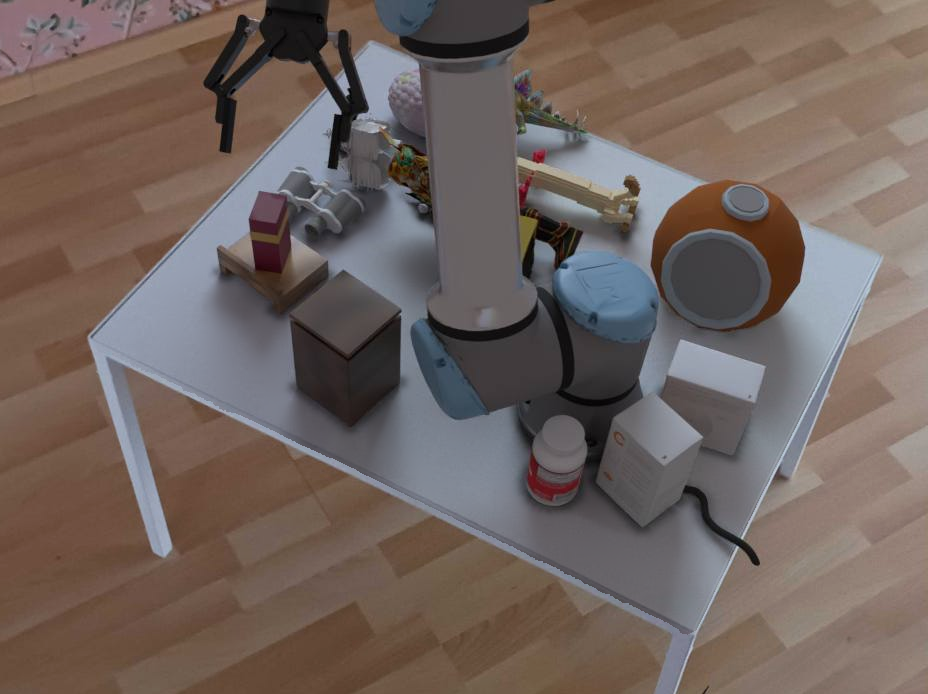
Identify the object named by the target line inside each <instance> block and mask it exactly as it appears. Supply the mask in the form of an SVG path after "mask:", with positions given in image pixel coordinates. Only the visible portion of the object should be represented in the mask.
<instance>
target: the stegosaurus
mask: <svg viewBox="0 0 928 694" xmlns="http://www.w3.org/2000/svg"><path fill="white" fill-rule="evenodd" d="M532 72H533V71H532V68H528V69H525V70H524V71H521V72H519V73H518V74H517V75H514V88H515V112H516V127H517V130H516V135H518V136H520V135H521V136H522V135H526V134H527V133H528V131H527V125H526V124H529V125H534V126H538V127H542V128H543V127H545V128H549V129H556V130H559V131H563V132H566V133H573V134H578V135H577V136H578V137H579V138H580V139H582V136H581V135H585V134H589V133H590V131H588V130H586V129H584V128H583V127H584V125H585V124H586V121H587V115H585V116H584V117H583V118H584V119H583V120H582V122H581V123H580V124H579V120H580V119H579V117H580V113H579V110H578V109H576V116H575V119H574V121H573V122H572V123H571V122H569V120H566V115H563V116H562V117H561V112H560V110H557V111H556V112H555V113H553V102H552V101H550V102H547V103H546V104H544V90H539V91H538V90H537V91H535V92H533V93H532V88H533V87H532V75H533V74H532ZM543 104H544V105H543ZM578 124H579V125H578Z"/></svg>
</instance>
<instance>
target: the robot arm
mask: <svg viewBox="0 0 928 694" xmlns="http://www.w3.org/2000/svg"><path fill="white" fill-rule="evenodd" d="M555 1H556V0H373V3H374V8H375V11H376V15H377V16H378V19H379V21H380V23H381V25H382V26H383V27H384V29H385V30H386V31H387V32H388V33H390V34H391V35H395V36H398V38H399V46H400V48H401V49H402V51H403V52H405V53H406V54H407V55H408V56H409V57H411V58H412V59H413V60H415V62H417V63H418V69H419V72H420V83H421V94H422V104H423V115H424V126H425V136H426V137H425V146H426V157H427V158H428V169H429V179H430V190H431V201H432V206H431V208H432V211H433V218H432V219H433V220H432V223H433V231H434V233H433V234H434V243H435V244H434V245H435V252H436V253H435V254H436V262H437V263H436V265H437V275H438V281H437V282H436V283H435V284H434V285H433V286H432V287H431V288H430V289H429V291H428V293H427V295H426V298H425V299H426V303H425V304H426V312H427V313H426V314H427V317H419V318H418V320H416V321H414V322H413V323H412V324H411V326H410V332H409V334H410V341H411V346H412V348H413V352H414V355H415V358H416V361H417V363H418V368H419V369H420V371H421V374H422V376H423V379H424V381H425V383H426V385H427V387H428V389H429V391H430V393H431V395H432V397H433V399H434V401H435V402H436V404H437V405H438V407H439V408H440V410H441V411H442V412H443V413H444V414H445V415H446V416H447V417H449V418H451V419H452V420H455V421H456V420H457V421H464V420H468V419H473V418H477V417H480V416H487V417H488V416H490V414H491V413H493V412H496V411H499V410H503V409H506V408H509V407H513V406H515V405H516V406H517V414H518V418H519V420H520V421H519V422H520V423H521V425H522V427H523V429H524V431H525V432H526V433H527V435H528V436H529V438H530V439H532V441H534V439H535V437H536V435H537V434H538V433H539V432H540V431H541V430H542V429H543V426H544V424H545V422H546V421H547V420H548V419H550V418H551V417H553V416H557V415H567V416H571V417H573V418H575V419H576V420H578V421H579V422H580V423H581V425H582V426H583V428H584V432H585V437H584V439H585V441H586V444H587V456H586V460H585V462H592V461H599V460H602V456H603V453H604V449H605V445H606V442H607V438H608V435H609V431H610V427H611V424H612V420H613V417H615V416H616V415H618V414H619V413H621V412H622V411H624V410H625V409H627V408H628V407H630V406H631V405H633V404H634V403H636V402H637V401H639V400H640V399H642V398H643V397H644V394H643V393H644V392H643V390H642V387H641V382H640V381H641V380H640V375H641V372H642V369H643V366H644V362H645V359H646V356H647V353H648V349H649V347H650V344H651V341H652V338H653V335H654V333H655V331H656V328H657V324H658V322H657V321H658V319H657V318H658V313H659V306H660V302H659V301H660V300H659V295H658V291H657V290H658V289H657V288H656V285H655V284H654V282H653V281H652V279H651V278H650V276H649V275H648V274H647V273H646V272H645V270H643V269H642V268H641V267H640V266H638V265H637V264H636V263H635V262H633V261H631V260H630V259H625V258H622V257H620V256H619V255H618V254H615V253H612V252H608V251H601V250H589V251H587V250H586V251H582V252H578V253H574V255H572V256H570V257H569V258H567V259H566V260H564V261H563V262H562V263H561V265H560V267H559V268H558V270H557V271H556V270H555V271H554V273H553V276H552V280H551V281H552V282H549V283H545V284H541V285H537V286H535V284H534V283H533V282H532V281H531V280H530V279H527V278H526V277H524V276H523V275H522V256H521V232H520V208H519V186H520V184H519V182H518V160H517V158H518V140H517V125H516V112H515V88H514V77H515V69H514V68H515V67H514V55H515V54H516V53H517V52H518V51H519V50H520V48H522V47H523V45H525V43H526V42H527V41H528V40H529V37H530V8H532V7H536V6H538V5H542V4H543V5H544V4H547V3H551V2H555ZM330 2H331V0H265V7H264V8H265V9H264V15H263V17H262V18H261V20H258V19H253V18H251V17H248V16H247V15H245V14H243V13H242V14H239V15H238V16H237V19H236V21H235V22H236V24H235V27H234V32H233V33H232V35H231V37H229V40H228V41H227V43H226V44H225V46H224V47H223V49H222V51H221V53H220V54H219V56H218V57H217V59H216V60H215V62H214V64H213V66H212V67H211V68H210V70H209V72H208V74H207V75H206V77H205V78H204V80H203V82H202V83H203V84H202V85H203V87H204V88H205V89H207V90H209V91H211V92H213V93H214V94H215V95H216V106H215V115H214V120H215V123H216V124H218V125H221V131H220V139H219V140H220V141H219V149H218V151H219V152H220V153H224V154H230V155H231V154H232V149H233V139H234V131H235V122H236V114H237V103H238V100H237V99H234V98H233V96H234V94H236V92H237V91H239V90H240V89H241V87H243V85H245V84H246V83H247V82H248V81H249V80H250V79H251V78H252V77H253V76H254V75H255V74H257V72H258V71H260V69H262V68H263V67H264V66H265V65H266V64H267V63H269V62H270V61H271V60H272V59H274V58H275V59H277V60H278V61H280V62H286V63H287V62H294V63H297V64H299V65H300V64H301V65H306V64H308V63H310V64H311V65H312V66H313V68H314V69H315V71H316V73H317V74H318V75H319V76H318V77H320V79H321V81H322V82H323V84H324V86H325V88H326V89H327V91H328V93H329V94H330V96H331V97H332V99H333V101H334V103H335V104H336V106H337V107H338V109H339V110H340V113H339V114H338V113H333V121H332V127H331V128H332V129H331V130H332V134H331V135H332V136H330V144H329V145H330V146H329V153H328V160H327V162H328V163H327V166H326V167H327V169H329V170H335V171H338V170H339V169H338V168H339V166H338V162H340V161H339V159H340V153H341V151H340V146H341V142H343V143H348V142H349V140H350V134H351V126H352V119H353V117H354V116H355V115H358V116H359V115H362V114H368V112H369V110H370V106H369V103H368V100H367V97H366V93H365V91H364V87H363V84H362V81H361V78H360V75H359V72H358V69H357V66H356V65H357V64H356V61H355V59H354V55H353V53H352V35H351V33H350V32H349V31H348V30H347V29H344V28H341V29H340V30H328V17H329V11H330ZM258 31H259V33H260V35H261V37H262V39H263V41H264V42H262V43H261V44H260V45H259V46H258V47H257V48H256V49H255V51H254V53H253V54H252V55H250V56H249V57H248V58H247V59H246V60H245V61H244V62H243V63H242V64H241V65H240V66H239V67H238V68H237V69H236V70H235V71H233V73H231V75H230V76H229V77H228V78H226V76H227V75H228V73H229V72H230V70H231V69H232V66H233V65H234V63H235V62H236V61H237V59H238V57H239V56H240V54H241V52H242V51H243V49H244V48H245V46H246V45H247V43H248V40H249V38H252V37H254V36H255V34H256V33H257V32H258ZM329 41H330V42H331V43H332V47H333V48H334V49H335V50H337V51H338V56H339V58H340V61H341V65H342V68H343V71H344V75H345V77H346V80H347V83H348V86H349V88H350V90H351V93H352V96H353V99H354V102H355V103H353V104H350V103H349V101H348V99H347V98H346V96H347V95H346V94H345V93H344V91H343V89H342V88H341V86H340V85H339V82H338V81H337V79H336V78H335V76H334V74H333V73H332V71H331V70H330V68H329V67H328V64H327V63H326V60H325V59H324V58H323V56H322V54H321V53H320V51H321V50H322V49H323V48H324V47H325V46H326V45H327V44H328V43H329ZM225 78H226V79H225ZM224 79H225V80H224ZM223 81H224V82H223ZM682 494H690V495H692V496H694V497H696V498H697V499H698V501H699V503H700V514H701V518H702V521H703V522H704V524H705V525H706V526H707V528H708V529H710V530H711V531H712V532H713V533H715V534H716V536H717V535H718V536H719V537H720V538H722V539H724V540H726V541H727V542H730V543H732V544H733V545H735V546H736V547H738V548H739V549H741V550H742V551H743V552H744V553H745V554H746V556H747V557H748V559H749V560H750V562H751V564H752V565H753V566H756V567H759V566H760V565H761V561H760V559H759V556H758V555H757V552H756V551H755V550H754V548H753V547H752V546H751V545H750V544H749V543H747V541H745V540H744V539H742V538H741V537H739V536H737V535H735V534H733V533H732V532H730V531H728V530H726V529H724V528H723V527H721V526H720V525H719V524H718V523H716V522H715V520H713V518H712V517H711V514H710V510H709V509H710V507H709V501H708V497H707V495H706V493H704V491H703V490H701V489H700V488H698V487H696V486H694V485H688V484H687V485H686V484H685V487H684V489H683V492H682ZM709 688H710V685H707V687H706V688H705V689H704V690H703V692H702V694H706V693H707V691H708V689H709Z"/></svg>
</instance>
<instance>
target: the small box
mask: <svg viewBox="0 0 928 694" xmlns="http://www.w3.org/2000/svg"><path fill="white" fill-rule="evenodd" d="M702 440H703V436H702V435H701V434H700V433H698V432H697V431H696V430H695V429H694V428H693V427H692V426H691V425H690V424H688V423H687V422H686V421H685V420H684V419H683V418H682V417H681V416H679V415H678V414H677V413H676V412H675V411H674V410H673V409H672V408H671V407H669V406H668V405H667V404H666V403H665V402H664V401H663V400H662V399H661V398H660V396H658V395H657V393H655V392H654V391H650V392H649V393H648V394H646V395H645V396H643V398H642V399H640V400H639V401H637V402H636V403H634V404H633V405H631V406H630V407H628V408H627V409H625V410H624V411H622V412H621V413H619V414H618V415H616V416H615V417H613V420H612V424H611V427H610V431H609V435H608V438H607V442H606V445H605V449H604V453H603V456H602V459H600V463H599V466H598V471H597V474H596V478H595V484H597V486H599V488H600V489H602V490H603V491H604V493H606V494H607V495H608V497H610V498H611V499H612V500H613V501H614V502H615V503H616V505H618V506H619V507H620V508H621V509H622V510H623V511H624V512H625V513H626V514H627V515H628V516H629V517H631V519H632V520H633V521H635V522H636V524H638V525H639V526H640V527H641V528H644V527H645V526H647V525H648V524H650V523H651V522H652V521H653V520H655V519H656V518H658V517H659V516H660V515H661V514H662V513H664V512H665V511H666V510H668V509H669V508H670V507H672V506H673V505H675V504H676V503H677V502H678V501H680V499H681V498H682V495H683V493H682V492H683V489H684V487H685V485H686V484H687V482H688V480H689V477H690V474H691V471H692V469H693V466H694V464H695V461H696V458H697V457H698V453H699V451H700V448H701V443H702Z"/></svg>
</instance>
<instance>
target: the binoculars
mask: <svg viewBox="0 0 928 694" xmlns="http://www.w3.org/2000/svg"><path fill="white" fill-rule="evenodd" d="M333 185H334V184H333V183H332V182H331V181H330V180H328V179H323V180H322V182H319V183H318V182H316V180H315V178H314V177H313V175H312V174H311V173H310V172H309V171H308V170H307V169H306V168H305V167H303V166H299V165H298V166H295V167H294V168H293V169H292V170H291V171H290V172H289V173H288V175H287V177H285V180H284V181H283V183H282V184H281V185H280V187H278V189H277V191H276V192H275V194H282V195H287V204H288V209H289V223H291V222H292V221H293V218H294V217H295V216H296V215H298V214H300V212H301V211H302V210H303V209H304V208H305V209H307V210H309V211H312V212H314V213H315V215H314V217H313V218H312V219H311V220H310V221H308V222H307V223H306V224H305V225H304V231H305V233H306V234H307V235H308V236H309V237H310V238H311V239H315V240H317V239H319V238H320V237H321V236H322V233H323V232H324V231H325V230H327V229H328V230H330V231H331V232H332V233H334V234H340V233H341V232H342V231H343V229H345V228H346V227H347V226H349V225H350V224H351V223H352V222H353V221H354V220H356V219H357V218H358V217H359V216H360V215H362V214H363V213H364V212H365V210H366V209H367V208H368V207H367V206H368V205H367V201H366V199H365V198H364V196H362V194H360V193H358V192H354V191H352V192H351V191H349V190H347V189H344V188H343V189H340V190H339V191H338V192H335V191H334V190H333V188H334V186H333ZM322 195H325V196H328V197H329V198H331V199H330V200H329V201H328V202H327V203H326V204H325V205H324V206H323V207H320V206H318V205H317V204H316V202H317V201H318V200H319V199H320V197H321V196H322Z"/></svg>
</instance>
